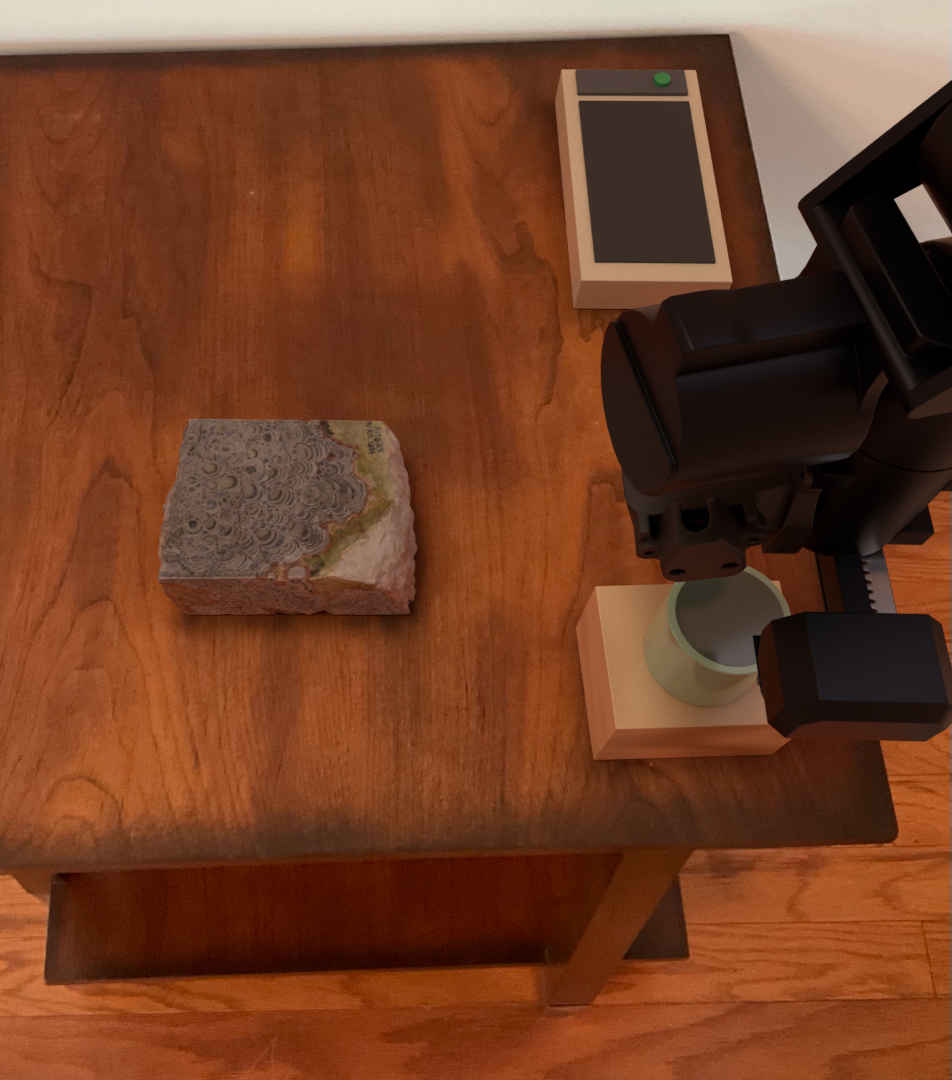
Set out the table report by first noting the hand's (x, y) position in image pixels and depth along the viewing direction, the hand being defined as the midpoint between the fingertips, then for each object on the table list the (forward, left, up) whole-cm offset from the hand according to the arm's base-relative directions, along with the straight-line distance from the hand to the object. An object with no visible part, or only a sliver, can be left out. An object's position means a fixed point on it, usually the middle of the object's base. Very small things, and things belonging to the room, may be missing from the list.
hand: (753, 587), depth 50 cm
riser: (+1, 0, -14) cm, 14 cm away
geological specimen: (+16, -18, -14) cm, 28 cm away
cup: (+1, 0, -8) cm, 8 cm away
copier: (-17, -33, -14) cm, 39 cm away
